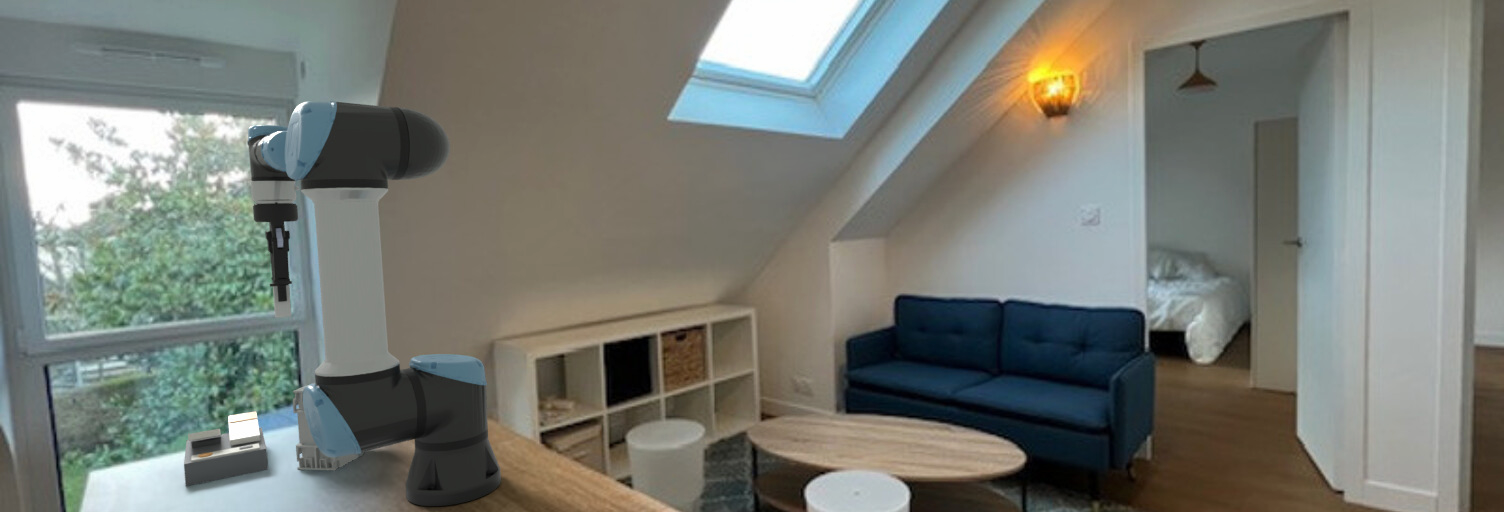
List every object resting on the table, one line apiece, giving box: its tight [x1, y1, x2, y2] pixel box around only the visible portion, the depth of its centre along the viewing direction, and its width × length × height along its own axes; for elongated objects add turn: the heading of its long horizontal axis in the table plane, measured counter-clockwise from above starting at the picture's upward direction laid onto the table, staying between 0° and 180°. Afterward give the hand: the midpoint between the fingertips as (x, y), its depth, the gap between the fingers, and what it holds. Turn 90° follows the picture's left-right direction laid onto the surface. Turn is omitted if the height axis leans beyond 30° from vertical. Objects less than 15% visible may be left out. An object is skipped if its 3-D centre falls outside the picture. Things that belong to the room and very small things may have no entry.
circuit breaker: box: [292, 382, 364, 471], centre depth 137 cm, size 8×14×15 cm, turn 174°
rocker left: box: [187, 428, 221, 441], centre depth 133 cm, size 10×5×1 cm, turn 38°
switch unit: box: [183, 427, 269, 487], centre depth 133 cm, size 16×12×5 cm
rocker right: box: [227, 410, 260, 446], centre depth 136 cm, size 10×5×1 cm, turn 38°
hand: (283, 316), depth 144 cm, fingers closed
